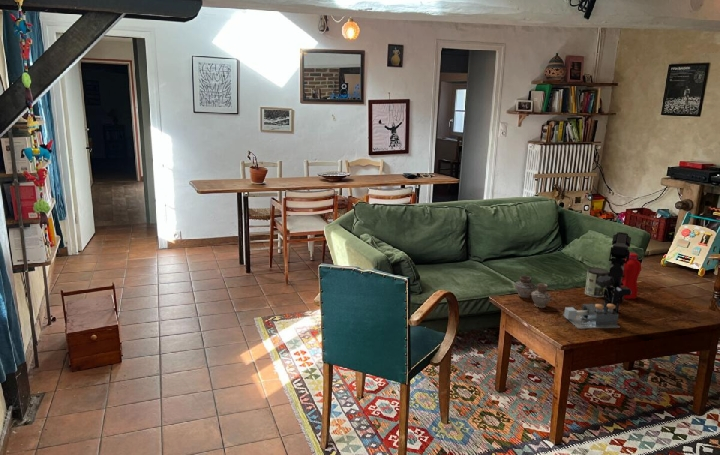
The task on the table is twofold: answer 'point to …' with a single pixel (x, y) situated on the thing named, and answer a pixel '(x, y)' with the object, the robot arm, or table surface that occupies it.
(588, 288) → the coffee can
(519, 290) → the pottery
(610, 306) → the plunger
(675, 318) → the table surface
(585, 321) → the grey slotted base
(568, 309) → the cube-topped plunger
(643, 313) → the table surface
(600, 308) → the plunger
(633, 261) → the water bottle
